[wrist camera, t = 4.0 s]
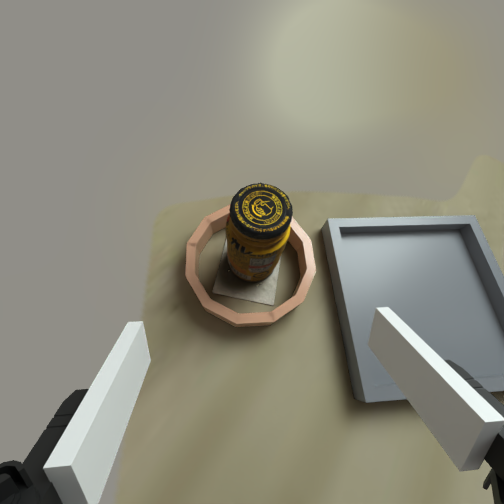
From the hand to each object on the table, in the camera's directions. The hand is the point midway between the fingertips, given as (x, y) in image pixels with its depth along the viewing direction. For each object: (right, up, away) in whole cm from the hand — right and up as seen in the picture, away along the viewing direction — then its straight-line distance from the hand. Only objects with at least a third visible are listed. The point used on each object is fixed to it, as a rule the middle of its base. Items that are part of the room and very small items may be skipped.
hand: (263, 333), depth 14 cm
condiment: (-1, +3, +17) cm, 17 cm away
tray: (+19, -1, +16) cm, 25 cm away
